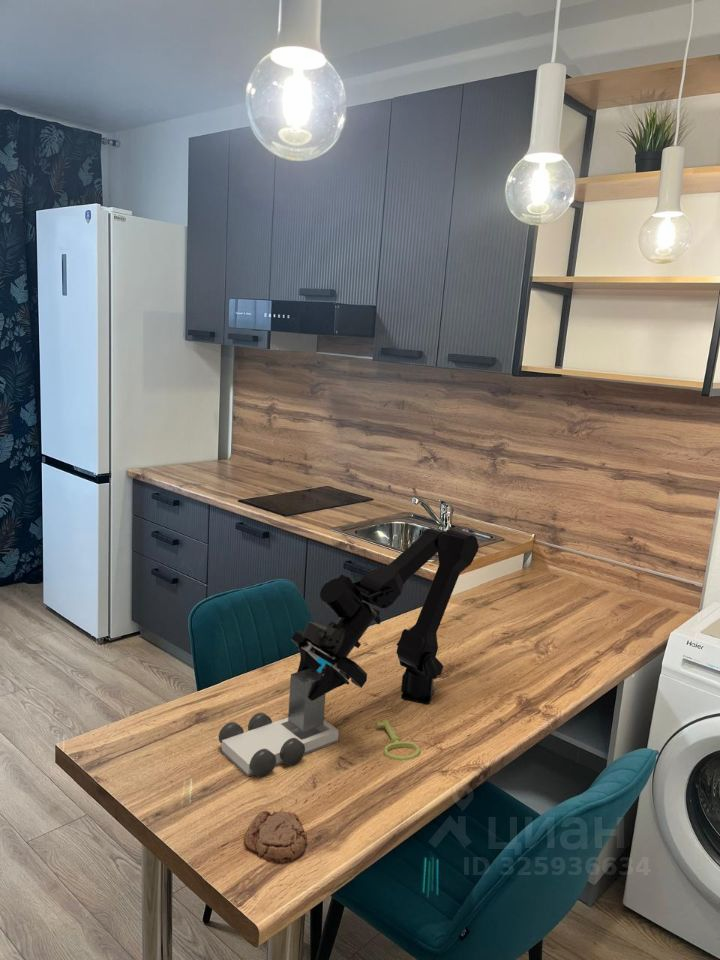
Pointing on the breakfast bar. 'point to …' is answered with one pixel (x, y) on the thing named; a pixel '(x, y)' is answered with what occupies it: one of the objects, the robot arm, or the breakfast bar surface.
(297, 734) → the chassis
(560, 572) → the breakfast bar surface
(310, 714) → the block
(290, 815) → the cookie
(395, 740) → the key
